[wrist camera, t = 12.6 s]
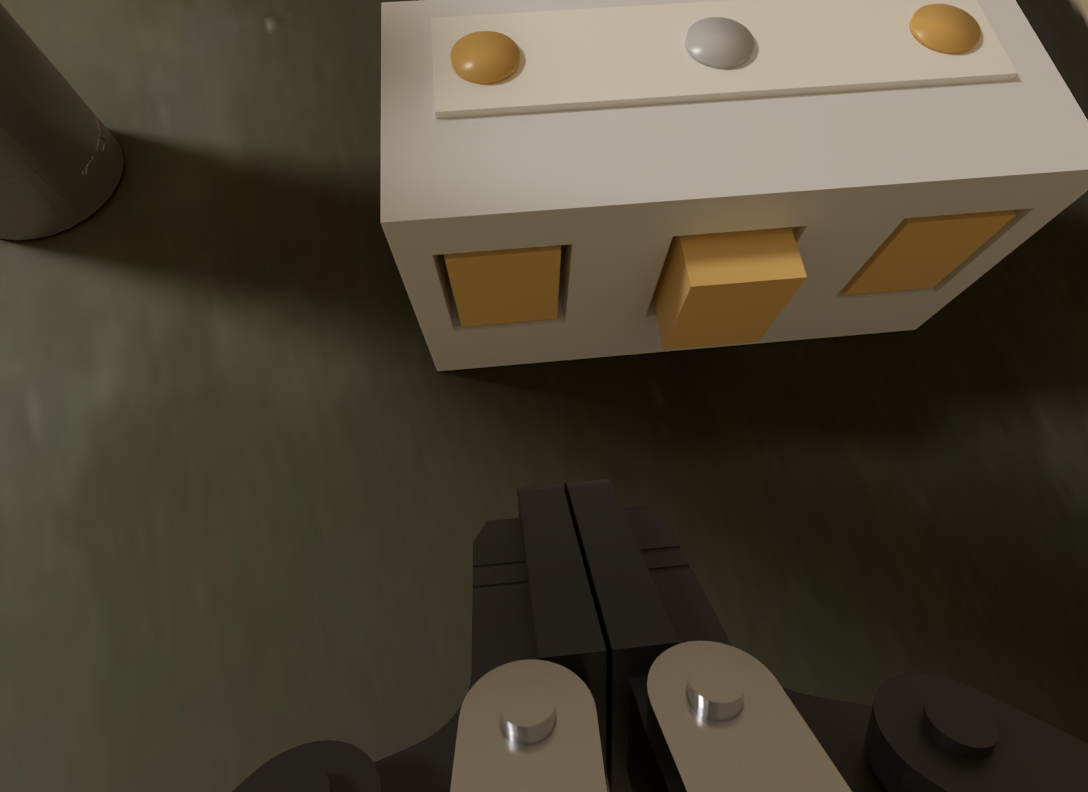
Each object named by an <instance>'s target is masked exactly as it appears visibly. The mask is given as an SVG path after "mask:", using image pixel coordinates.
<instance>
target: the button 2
mask: <svg viewBox="0 0 1088 792" xmlns="http://www.w3.org/2000/svg"><path fill="white" fill-rule="evenodd" d="M1015 216H1016V214H1015V212H1014V210H1005V211H992V212H979V213H966V214H954V215H941V216H928V217H915V218H904V219H903V221H902V222H901V223H900V224H899V225H898V226H897V227H896V229H895V230H894V231H893V232H892V233H891V234H890V235H889V236H888V238H887V239H886V240H885V241H884V242H883V243H882V244H881V246H880V247H879V248H878V249H877V250H876V251H875V252H874V253H873V255H872V256H871V257H870V258H869V259H868V260H867V261H866V263H865V264H864V265H863V266H862V267H861V268H860V269H859V271H858V272H857V273H856V274H855V275H854V276H853V277H852V278H851V280H850V281H849V282H848V283H847V284H846V285H845V286H844V288H843V289H842V292H843V295H852V294H864V293H876V292H888V291H900V290H912V289H924V288H934V287H935V286H936V285H937V284H938V283H939V282H941V281H942V280H943V279H944V278H945V277H946V276H947V275H949V274H950V273H951V272H952V271H953V270H954V269H955V268H956V267H958V266H959V265H960V264H961V263H962V262H963V261H964V260H966V259H967V258H968V257H969V256H970V255H971V254H972V253H974V252H975V251H976V250H977V249H978V248H979V247H980V246H982V245H983V244H984V243H985V242H986V241H987V240H988V239H990V238H991V237H992V236H993V235H994V234H995V233H996V232H998V231H999V230H1000V229H1001V228H1002V227H1003V226H1004V225H1006V224H1007V223H1008V222H1009V221H1010V220H1011V219H1012V218H1013V217H1015Z"/></svg>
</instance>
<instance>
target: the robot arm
mask: <svg viewBox="0 0 1088 792" xmlns="http://www.w3.org/2000/svg"><path fill="white" fill-rule="evenodd" d="M123 161H124V159H123V154H122V150H121V147H120V145H119V144H118V142H117V140H116V139H115V137H114V136H113V135H112V134H111V133H110V132H109V130H108V129H107V128H106V127H105V126H104V124H103V123H102V122H101V121H100V120H99V119H98V117H97V116H96V115H95V114H94V113H93V112H92V110H91V109H90V108H89V107H88V106H87V105H86V103H85V102H84V101H83V100H82V99H81V97H80V96H79V95H78V94H77V93H76V92H75V90H74V89H73V88H72V87H71V86H70V84H69V83H68V82H67V81H66V79H65V78H64V77H63V76H62V75H61V74H60V72H59V71H58V70H57V69H56V68H55V67H54V65H53V64H52V63H51V62H50V61H49V60H48V58H47V57H46V56H45V55H44V54H43V52H42V51H41V50H40V49H39V48H38V47H37V45H36V44H35V43H34V42H33V41H32V40H31V38H30V37H29V36H28V35H27V34H26V33H25V31H24V30H23V29H22V28H21V27H20V26H19V24H18V23H17V22H16V21H15V20H14V19H13V17H12V16H11V15H10V14H9V13H8V11H7V10H6V9H5V8H4V7H3V6H2V4H1V3H0V239H9V240H29V239H37V238H41V237H46V236H50V235H54V234H56V233H59V232H61V231H64V230H67V229H69V228H71V227H73V226H75V225H76V224H78V223H80V222H82V221H84V220H85V219H87V218H88V217H89V216H90V215H92V214H93V213H94V212H96V211H97V210H98V209H99V208H100V207H101V206H102V205H103V204H104V203H105V202H106V201H107V200H108V199H109V198H110V196H111V195H112V193H113V192H114V190H115V188H116V187H117V185H118V183H119V181H120V178H121V175H122V172H123ZM518 508H519V518H515V519H504V520H493V521H487V522H486V523H485V525H484V526H483V528H482V530H481V531H480V533H479V534H478V536H477V537H476V539H475V540H474V542H473V608H472V675H471V684H470V687H469V691H468V694H467V695H466V697H465V699H464V702H463V704H462V705H461V707H460V708H459V710H458V711H457V713H456V714H455V715H454V716H453V717H452V719H451V720H450V721H449V722H448V723H447V724H446V725H445V726H443V727H442V728H441V729H440V730H439V731H438V732H436V733H435V734H433V735H432V736H430V737H429V738H427V739H425V740H424V741H422V742H420V743H418V744H416V745H414V746H411V747H409V748H407V749H405V750H402V751H400V752H398V753H395V754H393V755H391V756H388V757H386V758H384V759H382V760H379V761H377V762H375V763H373V762H372V760H371V759H370V757H369V756H368V755H367V754H366V753H364V752H363V751H362V750H361V749H359V748H357V747H355V746H353V745H352V744H348V743H345V742H341V741H330V740H327V741H316V742H311V743H307V744H303V745H300V746H297V747H294V748H292V749H289V750H287V751H285V752H283V753H281V754H279V755H277V756H276V757H274V758H273V759H271V760H269V761H268V762H266V763H265V764H263V765H262V766H261V767H260V768H258V769H257V770H256V771H255V772H254V773H252V774H251V775H250V776H249V777H248V778H247V779H246V780H245V781H243V782H242V783H241V784H240V785H239V786H238V787H237V788H236V789H235V790H234V791H232V792H607V788H606V774H607V779H608V783H609V788H610V792H1088V743H1086V742H1084V741H1082V740H1080V739H1078V738H1076V737H1074V736H1072V735H1069V734H1067V733H1065V732H1063V731H1061V730H1059V729H1057V728H1055V727H1053V726H1051V725H1049V724H1047V723H1045V722H1043V721H1041V720H1039V719H1037V718H1035V717H1033V716H1030V715H1028V714H1026V713H1024V712H1022V711H1020V710H1018V709H1016V708H1014V707H1012V706H1010V705H1008V704H1006V703H1004V702H1002V701H1000V700H998V699H996V698H994V697H991V696H989V695H987V694H985V693H983V692H981V691H979V690H977V689H975V688H973V687H970V686H968V685H966V684H964V683H961V682H958V681H955V680H952V679H949V678H946V677H941V676H937V675H932V674H923V673H909V674H903V675H898V676H895V677H893V678H890V679H889V680H887V681H886V682H884V683H883V684H882V685H881V686H880V688H879V689H878V690H877V693H876V695H875V698H874V702H873V706H867V705H861V704H855V703H849V702H843V701H837V700H831V699H825V698H819V697H813V696H809V695H804V694H800V693H797V692H794V691H791V690H788V689H786V688H783V687H781V685H780V684H779V682H778V681H777V680H776V678H775V677H774V676H773V674H772V673H771V672H770V671H769V670H768V669H767V668H766V667H765V666H764V665H763V664H762V663H761V662H759V661H758V660H757V659H755V658H754V657H753V656H751V655H749V654H747V653H746V652H744V651H742V650H740V649H737V648H735V647H733V646H732V644H731V643H730V641H729V639H728V637H727V635H726V633H725V631H724V629H723V627H722V626H721V624H720V622H719V620H718V618H717V616H716V614H715V612H714V610H713V608H712V607H711V605H710V603H709V601H708V599H707V597H706V595H705V593H704V591H703V590H702V588H701V586H700V584H699V582H698V580H697V578H696V576H695V574H694V572H693V571H692V569H690V567H689V563H688V561H687V559H686V557H685V555H684V554H683V552H682V550H680V548H679V544H678V542H677V540H676V538H675V536H674V535H673V533H672V531H671V529H670V527H669V525H668V524H667V523H666V522H665V521H664V520H662V519H661V518H660V517H658V516H657V515H656V514H654V513H653V512H652V511H651V510H649V509H648V508H647V507H634V508H622V506H621V504H620V501H619V499H618V496H617V494H616V492H615V489H614V487H613V484H612V482H611V480H610V479H602V480H590V481H579V482H567V483H565V484H564V488H563V485H562V483H558V484H546V485H534V486H523V487H518Z"/></svg>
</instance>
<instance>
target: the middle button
mask: <svg viewBox="0 0 1088 792" xmlns="http://www.w3.org/2000/svg"><path fill="white" fill-rule="evenodd" d="M806 278H807V275H806V272H805V269H804V266H803V262H802V259H801V256H800V253H799V250H798V247H797V244H796V240H795V237H794V234H793V231H792V228H791V227H787V228H774V229H761V230H748V231H735V232H722V233H710V234H697V235H684V236H673V238H672V240H671V243H670V246H669V249H668V252H667V255H666V258H665V261H664V264H663V267H662V270H661V273H660V276H659V279H658V282H657V285H656V288H655V291H654V294H653V301H654V306H655V311H656V316H657V321H658V326H659V331H660V336H661V341H662V346H663V350H670V349H682V348H693V347H705V346H716V345H728V344H739V343H751V342H759V340H760V339H761V338H762V337H763V335H764V334H765V333H766V331H767V330H768V329H769V327H770V326H771V325H772V323H773V322H774V321H775V319H776V318H777V317H778V315H779V314H780V313H781V311H782V310H783V309H784V307H785V306H786V305H787V303H788V302H789V301H790V299H791V298H792V297H793V295H794V294H795V293H796V291H797V290H798V289H799V287H800V286H801V285H802V283H803V282H804V281H805V279H806Z"/></svg>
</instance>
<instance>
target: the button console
mask: <svg viewBox="0 0 1088 792" xmlns="http://www.w3.org/2000/svg"><path fill="white" fill-rule="evenodd" d="M1087 190H1088V120H1087V119H1086V117H1085V115H1084V114H1083V112H1082V110H1081V109H1080V107H1079V105H1078V104H1077V102H1076V100H1075V99H1074V97H1073V95H1072V94H1071V92H1070V90H1069V89H1068V87H1067V85H1066V84H1065V82H1064V80H1063V79H1062V77H1061V75H1060V74H1059V72H1058V70H1057V69H1056V67H1055V65H1054V64H1053V62H1052V60H1051V59H1050V57H1049V55H1048V54H1047V52H1046V50H1045V49H1044V47H1043V45H1042V44H1041V42H1040V40H1039V39H1038V37H1037V35H1036V34H1035V32H1034V30H1033V29H1032V27H1031V25H1030V24H1029V22H1028V20H1027V19H1026V17H1025V15H1024V14H1023V12H1022V10H1021V9H1020V7H1019V5H1018V4H1017V2H1016V0H422V1H405V2H387V3H382V10H381V207H380V223H381V225H382V228H383V231H384V233H385V236H386V238H387V241H388V244H389V246H390V249H391V252H392V254H393V257H394V259H395V262H396V265H397V267H398V270H399V273H400V275H401V278H402V280H403V283H404V286H405V288H406V291H407V293H408V296H409V299H410V301H411V304H412V307H413V309H414V312H415V314H416V317H417V320H418V322H419V325H420V328H421V330H422V333H423V335H424V338H425V341H426V343H427V346H428V348H429V351H430V354H431V356H432V359H433V362H434V364H435V367H436V369H437V371H448V370H460V369H471V368H483V367H494V366H506V365H517V364H529V363H540V362H552V361H563V360H574V359H586V358H597V357H609V356H620V355H632V354H643V353H655V352H666V351H678V350H689V349H701V348H712V347H724V346H735V345H747V344H758V343H769V342H781V341H792V340H804V339H815V338H827V337H838V336H850V335H861V334H873V333H884V332H896V331H907V330H915V329H917V328H918V327H919V326H920V325H922V324H923V323H924V322H925V321H927V320H928V319H929V318H930V317H932V316H933V315H934V314H935V313H936V312H938V311H939V310H940V309H941V308H943V307H944V306H945V305H946V304H948V303H949V302H950V301H951V300H953V299H954V298H955V297H956V296H957V295H959V294H960V293H961V292H962V291H964V290H965V289H966V288H967V287H969V286H970V285H971V284H972V283H974V282H975V281H976V280H977V279H979V278H980V277H981V276H982V275H983V274H985V273H986V272H987V271H988V270H990V269H991V268H992V267H993V266H995V265H996V264H997V263H998V262H1000V261H1001V260H1002V259H1003V258H1005V257H1006V256H1007V255H1008V254H1009V253H1011V252H1012V251H1013V250H1014V249H1016V248H1017V247H1018V246H1019V245H1021V244H1022V243H1023V242H1024V241H1026V240H1027V239H1028V238H1029V237H1030V236H1032V235H1033V234H1034V233H1035V232H1037V231H1038V230H1039V229H1040V228H1042V227H1043V226H1044V225H1045V224H1047V223H1048V222H1049V221H1050V220H1052V219H1053V218H1054V217H1055V216H1056V215H1058V214H1059V213H1060V212H1061V211H1063V210H1064V209H1065V208H1066V207H1068V206H1069V205H1070V204H1071V203H1073V202H1074V201H1075V200H1076V199H1077V198H1079V197H1080V196H1081V195H1082V194H1084V193H1085V192H1086V191H1087ZM1005 210H1014V212H1015V214H1016V216H1015V217H1013V218H1012V219H1011V220H1010V221H1009V222H1008V223H1007V224H1006V225H1004V226H1003V227H1002V228H1001V229H1000V230H999V231H998V232H996V233H995V234H994V235H993V236H992V237H991V238H990V239H988V240H987V241H986V242H985V243H984V244H983V245H982V246H980V247H979V248H978V249H977V250H976V251H975V252H974V253H972V254H971V255H970V256H969V257H968V258H967V259H966V260H964V261H963V262H962V263H961V264H960V265H959V266H958V267H956V268H955V269H954V270H953V271H952V272H951V273H950V274H949V275H947V276H946V277H945V278H944V279H943V280H942V281H941V282H939V283H938V284H937V285H936V286H935V287H934V288H924V289H912V290H900V291H888V292H876V293H864V294H852V295H843V292H842V289H843V288H844V286H845V285H846V284H847V283H848V282H849V281H850V280H851V278H852V277H853V276H854V275H855V274H856V273H857V272H858V271H859V269H860V268H861V267H862V266H863V265H864V264H865V263H866V261H867V260H868V259H869V258H870V257H871V256H872V255H873V253H874V252H875V251H876V250H877V249H878V248H879V247H880V246H881V244H882V243H883V242H884V241H885V240H886V239H887V238H888V236H889V235H890V234H891V233H892V232H893V231H894V230H895V229H896V227H897V226H898V225H899V224H900V223H901V222H902V221H903V219H904V218H915V217H928V216H941V215H954V214H966V213H979V212H992V211H1005ZM787 227H791V228H792V231H793V234H794V237H795V240H796V244H797V247H798V250H799V253H800V256H801V259H802V262H803V266H804V269H805V272H806V275H807V278H806V279H805V281H804V282H803V283H802V285H801V286H800V287H799V289H798V290H797V291H796V293H795V294H794V295H793V297H792V298H791V299H790V301H789V302H788V303H787V305H786V306H785V307H784V309H783V310H782V311H781V313H780V314H779V315H778V317H777V318H776V319H775V321H774V322H773V323H772V325H771V326H770V327H769V329H768V330H767V331H766V333H765V334H764V335H763V337H762V338H761V339H760V340H759V342H751V343H739V344H728V345H716V346H705V347H693V348H682V349H670V350H663V346H662V341H661V336H660V331H659V326H658V321H657V316H656V311H655V306H654V301H653V294H654V291H655V288H656V285H657V282H658V279H659V276H660V273H661V270H662V267H663V264H664V261H665V258H666V255H667V252H668V249H669V246H670V243H671V240H672V238H673V236H684V235H697V234H710V233H722V232H735V231H748V230H761V229H774V228H787ZM555 245H561V262H560V278H559V295H558V311H557V319H549V320H537V321H525V322H513V323H501V324H489V325H477V326H465V327H461V323H460V319H459V315H458V311H457V307H456V303H455V299H454V295H453V291H452V287H451V283H450V279H449V275H448V271H447V267H446V263H445V255H444V254H453V253H466V252H478V251H491V250H504V249H517V248H530V247H543V246H555Z"/></svg>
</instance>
